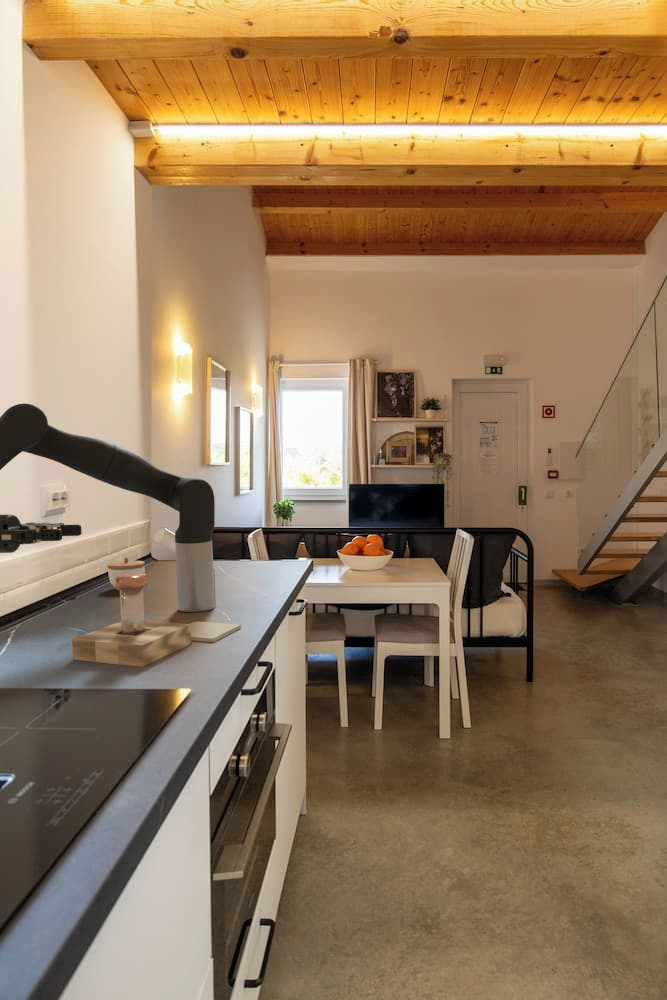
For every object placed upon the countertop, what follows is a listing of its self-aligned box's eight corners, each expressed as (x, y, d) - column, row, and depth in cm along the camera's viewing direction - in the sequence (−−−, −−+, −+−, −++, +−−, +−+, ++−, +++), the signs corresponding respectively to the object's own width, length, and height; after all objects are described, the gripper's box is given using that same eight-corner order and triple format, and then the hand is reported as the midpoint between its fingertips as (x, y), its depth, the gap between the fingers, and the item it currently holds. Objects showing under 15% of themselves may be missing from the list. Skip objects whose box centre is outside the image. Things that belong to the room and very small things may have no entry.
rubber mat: (194, 624, 151) (194, 621, 151) (241, 628, 147) (241, 624, 147) (164, 638, 140) (163, 634, 140) (213, 642, 136) (213, 638, 136)
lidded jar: (153, 587, 200) (152, 556, 200) (125, 593, 191) (123, 561, 191) (129, 584, 206) (128, 554, 205) (100, 590, 197) (99, 559, 196)
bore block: (126, 638, 141) (125, 619, 140) (191, 643, 135) (190, 624, 135) (73, 659, 126) (71, 639, 125) (143, 666, 120) (142, 645, 120)
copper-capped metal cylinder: (131, 646, 134) (128, 573, 133) (156, 648, 132) (153, 574, 131) (111, 654, 129) (108, 578, 128) (137, 656, 127) (134, 579, 126)
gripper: (-33, 518, 122) (53, 516, 121) (8, 512, 136) (85, 510, 135) (-31, 558, 122) (55, 556, 122) (10, 548, 136) (87, 546, 136)
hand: (71, 532), depth 128 cm, fingers open, 8 cm apart
